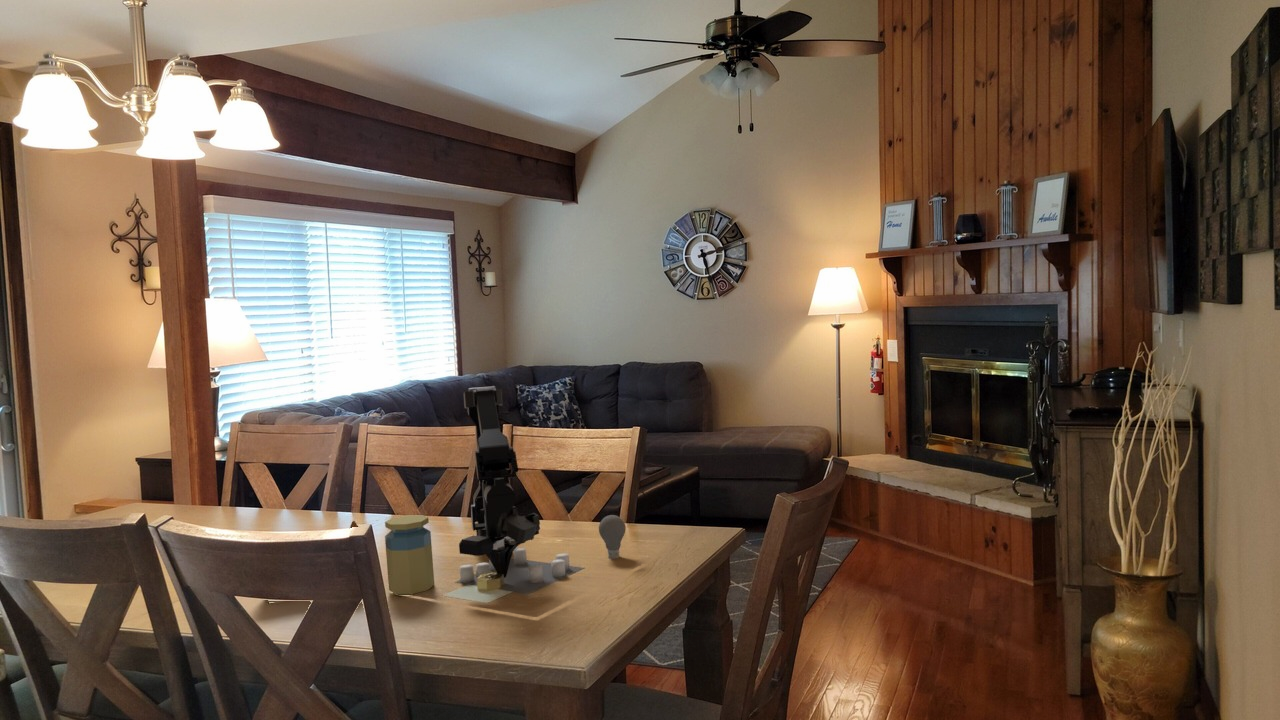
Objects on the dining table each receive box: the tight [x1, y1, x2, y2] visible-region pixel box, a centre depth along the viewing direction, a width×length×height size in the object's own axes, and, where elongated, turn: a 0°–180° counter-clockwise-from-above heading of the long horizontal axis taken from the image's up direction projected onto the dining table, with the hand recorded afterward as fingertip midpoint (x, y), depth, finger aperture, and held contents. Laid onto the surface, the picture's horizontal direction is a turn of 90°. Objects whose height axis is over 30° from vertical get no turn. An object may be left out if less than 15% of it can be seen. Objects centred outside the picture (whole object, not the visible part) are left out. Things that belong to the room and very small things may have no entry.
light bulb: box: [598, 514, 627, 560], centre depth 203 cm, size 6×6×10 cm
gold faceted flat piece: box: [477, 572, 504, 591], centre depth 186 cm, size 6×5×2 cm
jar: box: [384, 514, 435, 596], centre depth 189 cm, size 9×9×15 cm
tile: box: [442, 584, 512, 604], centre depth 183 cm, size 12×8×1 cm, turn 57°
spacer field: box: [454, 547, 585, 595], centre depth 193 cm, size 20×19×4 cm
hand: (503, 577), depth 189 cm, fingers closed
